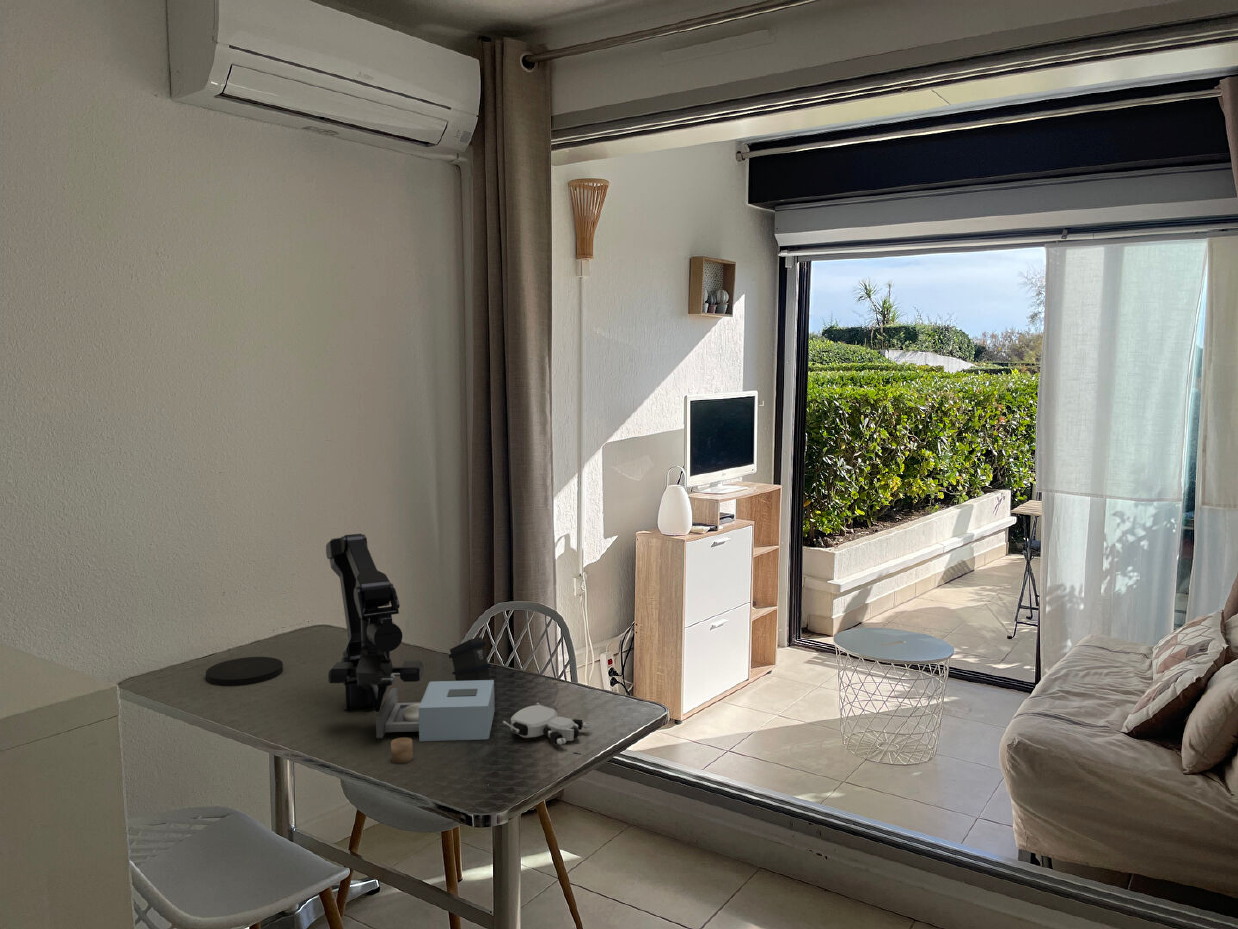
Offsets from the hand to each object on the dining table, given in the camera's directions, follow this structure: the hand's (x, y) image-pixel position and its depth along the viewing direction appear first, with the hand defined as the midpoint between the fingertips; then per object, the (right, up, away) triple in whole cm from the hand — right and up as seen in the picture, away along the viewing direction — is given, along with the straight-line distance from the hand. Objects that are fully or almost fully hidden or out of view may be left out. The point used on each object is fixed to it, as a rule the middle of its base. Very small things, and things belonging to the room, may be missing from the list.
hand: (377, 711), depth 195 cm
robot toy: (+36, -4, -4) cm, 37 cm away
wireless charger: (-42, -1, +36) cm, 56 cm away
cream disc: (+9, -1, +1) cm, 9 cm away
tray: (+8, -2, +1) cm, 9 cm away
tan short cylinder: (+9, -5, -15) cm, 18 cm away
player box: (+17, -3, +1) cm, 17 cm away
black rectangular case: (+17, -2, +17) cm, 24 cm away
